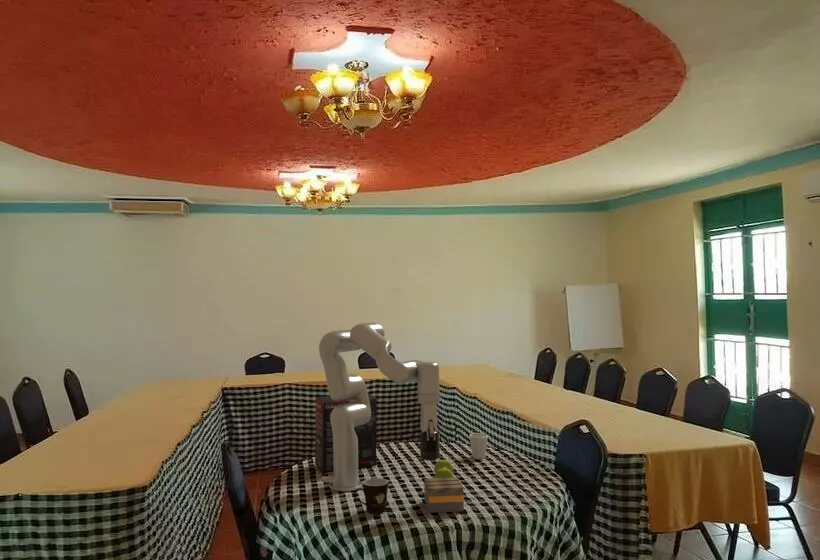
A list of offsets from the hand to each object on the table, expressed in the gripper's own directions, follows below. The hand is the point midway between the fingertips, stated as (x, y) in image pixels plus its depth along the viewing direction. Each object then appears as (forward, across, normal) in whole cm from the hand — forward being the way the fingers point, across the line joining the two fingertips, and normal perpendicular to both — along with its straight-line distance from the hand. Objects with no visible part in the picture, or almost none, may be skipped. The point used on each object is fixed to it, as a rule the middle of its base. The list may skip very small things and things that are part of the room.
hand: (429, 448), depth 222 cm
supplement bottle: (+4, 0, 0) cm, 4 cm away
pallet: (+14, 0, +4) cm, 14 cm away
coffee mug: (+20, +2, -21) cm, 29 cm away
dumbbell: (+20, -26, +8) cm, 34 cm away
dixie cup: (+20, -61, +28) cm, 70 cm away
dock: (+20, 0, +4) cm, 21 cm away
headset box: (+20, -55, -31) cm, 66 cm away
